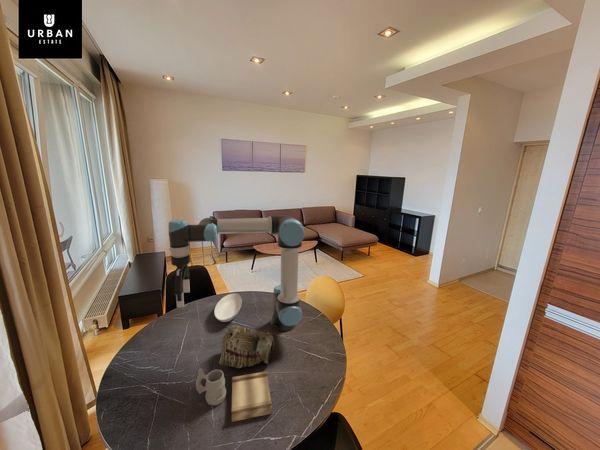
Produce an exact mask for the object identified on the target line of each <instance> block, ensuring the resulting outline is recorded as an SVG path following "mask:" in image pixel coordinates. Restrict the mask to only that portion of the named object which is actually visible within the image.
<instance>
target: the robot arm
mask: <svg viewBox="0 0 600 450" xmlns="http://www.w3.org/2000/svg"><path fill="white" fill-rule="evenodd" d="M257 233H259V234H261V233H265V234H266V233H268V234H269V235H277V247H278V248H279V249H280V284H278V285H276V286H274V288H273V312H272V315H271V318H270V322H269V323H270V327H271V328H272V329H274V330H275V331H279V332H287V331H291V330H293V329H294V328H295V327H297V324H298V322H300V321H301V320H302V318H303V311H302V309H301V295H300V294H299V293H298V289H299V288H298V284H299V283H298V281H299V280H298V279H299V250H300V249H301V248H302V245H303V244H302V243H303V241H304V238H305V227H304V225H303V224H302V223H301V222H300V221H299V220H297V219H296V218H295V217H294V216H291V215H288V214H287V215H286V214H284V215H283V214H282V215H269V216H268V217H257V218H256V217H255V218H254V217H252V218H251V217H250V218H244V217H243V218H210V217H205V218H203V219H201V220H200V221H199V223H198V224H189V223H188V221H187V220H186V219H174V220H171V221H168V238H169V240H168V241H169V248H168V250H169V251H170V261H171V262H170V263H171V266H174V267H176V268H175V271H174V288H173V289H174V292H173V295H174V296H175V300H176V308H184V307H185V301H184V300H185V298H184V293H190V292H191V289H190V280H191V278H192V277H191V274H190V270H189V266H188V265H189V264H190V263H191V255H190V253H191V251H190V243H194V242H195V243H197V242H198V243H199V242H200V243H201V242H215V241H216V240H217V239H218V235H224V234H225V235H227V234H257Z"/></svg>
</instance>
